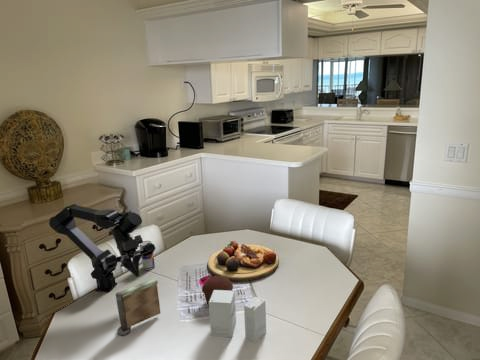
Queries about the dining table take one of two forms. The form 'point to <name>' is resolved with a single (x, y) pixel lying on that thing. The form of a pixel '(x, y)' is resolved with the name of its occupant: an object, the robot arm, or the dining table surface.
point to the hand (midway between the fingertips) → (138, 276)
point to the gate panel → (138, 303)
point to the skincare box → (255, 318)
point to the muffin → (216, 286)
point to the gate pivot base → (123, 331)
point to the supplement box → (222, 313)
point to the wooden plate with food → (243, 262)
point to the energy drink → (147, 258)
